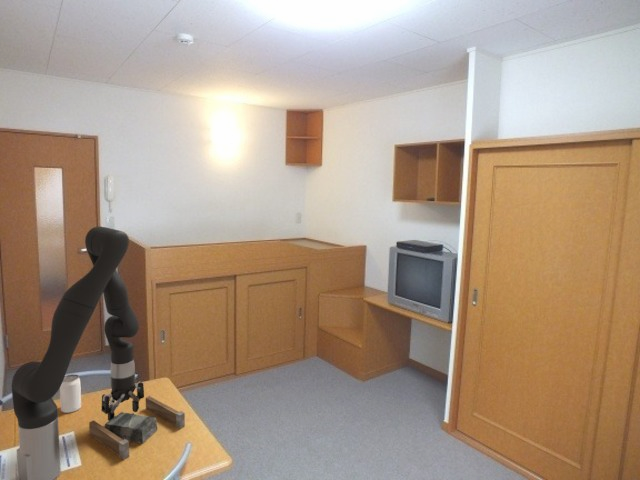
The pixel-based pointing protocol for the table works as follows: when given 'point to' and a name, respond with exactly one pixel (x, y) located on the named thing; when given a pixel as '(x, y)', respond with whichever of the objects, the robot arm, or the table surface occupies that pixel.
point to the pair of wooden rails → (122, 445)
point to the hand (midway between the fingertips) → (123, 416)
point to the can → (70, 394)
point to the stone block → (132, 427)
